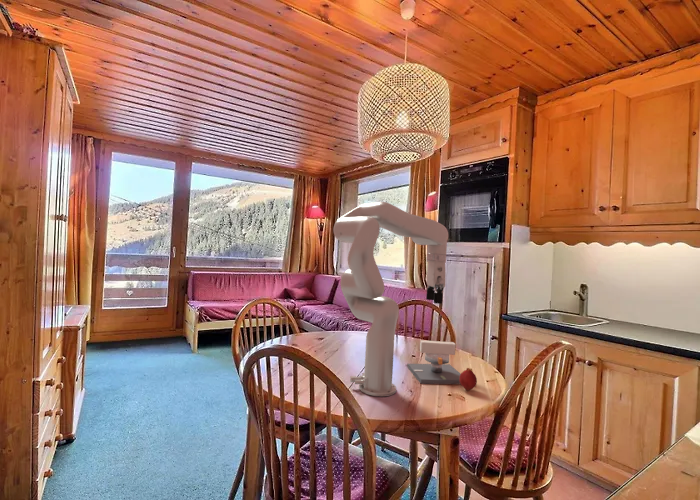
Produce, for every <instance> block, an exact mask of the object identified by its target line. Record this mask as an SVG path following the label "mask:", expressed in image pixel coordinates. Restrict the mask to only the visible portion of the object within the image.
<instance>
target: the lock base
mask: <svg viewBox="0 0 700 500" xmlns="http://www.w3.org/2000/svg"><path fill="white" fill-rule="evenodd" d="M406 367H407V369H408V370H409V371H410V372H411V374H412V375H413V376H414V378H416V380H417V381H418V382H419V383H420V385H421V384H423V385H424V384H427V385H429V384H430V385H434V384H435V385H461V384H460V381H459V378H460V375H461V373H462V372H461V373H460V371H458V370H457V369H456V368H454V366H452V365H451V363H450V364H449V363H447V364H442V365H441V364H435V363H431V362H430V363H407V365H406Z"/></svg>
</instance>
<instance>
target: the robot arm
mask: <svg viewBox="0 0 700 500" xmlns="http://www.w3.org/2000/svg"><path fill="white" fill-rule="evenodd" d="M333 225H334V226H333V234H334V237H335V238H336V239H337V241H339V242H341V243H346V244H347V243H348V244H349V243H351V246H350V249H349V252H348V255H347V264H348V269H346V270H345V271H344V272H343V273H342V274H341V277H340V289H341V292H342V294H343V298H344V299H345V301H346V304H347V305H348V307H349V309H350V311H351V313H352V315H353V316H354V317H355V318H356V319H358V320H360V321H363V322H364V321H365V322H369V323H371V325H370V327H369V329H368V331H367V333H366V336H365V337H366V338H365V356H364V357H365V358H364V371H363V372H362V375H358V376H356V375H353V376H352V375H351V376H350V377H349V378H350V381H349V383H354V385H358V388H359V390H360V392H362V393H363V394H366V395H368V396H373V397H389V396H393V395H394V394H395V393H397V386H396V385H395V384H394V383H393V372H394V371H393V369H394V355H395V353H394V352H395V351H394V350H395V335H396V329H397V328H396V327H397V323H398V319H399V314H400V308H399V304H398V303H397V302H396V300H394V299H393V298H391V297H389V296H384V293H385V288H386V287H385V282H384V279H383V277H382V275H381V272H380V269H379V268H378V265H377V263H376V259H375V255H374V250H375V246H376V242H377V240H378V238H379V235H380V229H381V228H382V229H383V230H386V231H388V232H390V233H393V234H395V235H398V236H400V237H406V238H410V239H411V241H412V242H413V243H415V244H416V245H420V246H427V248H426V263H427V271H426V285H427V286H426V299H425V300H426V301H428V300H429V301H433V303H434V304H443V295H444V294H443V293H444V288H446V263H447V247H448V239H449V230H448V229H447V228H446V226H444V224H442V223H440V222H438V221H436V220H434V219H430V218H427V217H424V216H419V215H417V214H414V213H413V214H411V213H409V212H408V211H407V212H406V211H405V210H403V209H401V208H400V207H398V206H395V205H394V204H392V203H389V202H387V201H377V202H376V201H374V202H367V203H366V202H365V203H362V204H360V205H358V206H357V207H355V208H353V209H352V210H350V211H349V212H347V213H345V214H343V215H342V216H341V217H339V218H338V219H337V220H336V221H335V223H334V224H333Z"/></svg>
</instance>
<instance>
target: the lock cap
mask: <svg viewBox="0 0 700 500" xmlns="http://www.w3.org/2000/svg"><path fill="white" fill-rule="evenodd" d="M419 342H420V343H419V352H420V353H422V354H425V355H424V359H425V361H426V362H428V363H430V364H431V363H435V364H441V365H442V364H449V363H450V356H451V355H452V356H455V355H456V348H457V347H456V343H455V342H454V341H438V340H421V339H420V340H419Z"/></svg>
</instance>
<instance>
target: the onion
mask: <svg viewBox="0 0 700 500" xmlns="http://www.w3.org/2000/svg"><path fill="white" fill-rule="evenodd" d="M465 369H466V370H463V371H462V372H461V375H460V378H459V381H460V384H459V385H461V387H462V388H463V389H464V390H465V391H467V392H468V391H471V390H473V389H474V388H475V387H476V386H477V383H478V380H477V379H478V378H477V376H476V374H475V373H474V372H473V371H472V370H471V369H470V367H466V368H465Z"/></svg>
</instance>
